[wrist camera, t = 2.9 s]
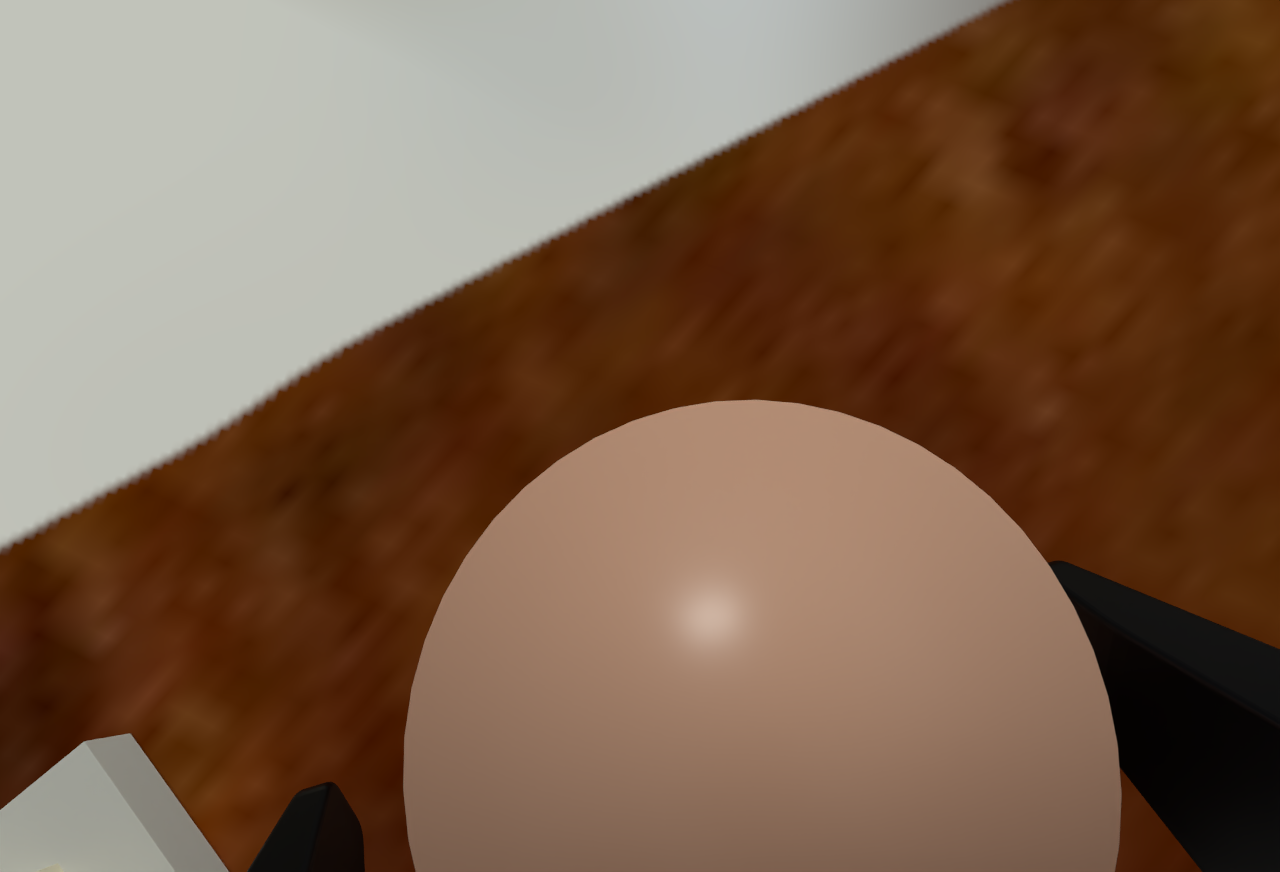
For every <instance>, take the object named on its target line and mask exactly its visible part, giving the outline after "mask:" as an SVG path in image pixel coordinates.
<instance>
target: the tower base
mask: <svg viewBox="0 0 1280 872" xmlns="http://www.w3.org/2000/svg"><path fill="white" fill-rule="evenodd" d="M0 872H229V871H228V870H227V868H226V867H225V865H224V864H223V863H222V861H221V860H220V858H219V857H218V856H217V854H216V853H215V851H214V850H213V849H212V847H211V846H210V844H209V843H208V842H207V840H206V839H205V837H204V836H203V835H202V833H201V832H200V830H199V829H198V828H197V826H196V825H195V823H194V822H193V821H192V819H191V818H190V816H189V815H188V814H187V812H186V811H185V809H184V808H183V807H182V805H181V804H180V802H179V801H178V800H177V798H176V797H175V795H174V794H173V793H172V791H171V790H170V788H169V787H168V786H167V784H166V783H165V781H164V780H163V778H162V777H161V776H160V774H159V773H158V771H157V770H156V769H155V767H154V766H153V764H152V763H151V762H150V760H149V759H148V757H147V756H146V755H145V753H144V752H143V750H142V749H141V748H140V746H139V745H138V743H137V742H136V741H135V739H134V738H133V736H132V735H131V734H124V735H118V736H113V737H107V738H101V739H95V740H90V741H84V742H83V743H82V744H81V745H79V746H78V747H77V748H76V749H74V750H73V751H72V752H71V753H70V754H68V755H67V756H66V757H65V758H63V759H62V760H61V761H60V762H59V763H57V764H56V765H55V766H54V767H52V768H51V769H50V770H49V771H48V772H46V773H45V774H44V775H43V776H41V777H40V778H39V779H38V780H37V781H35V782H34V783H33V784H32V785H31V786H29V787H28V788H27V789H26V790H24V791H23V792H22V793H21V794H20V795H18V796H17V797H16V798H15V799H13V800H12V801H11V802H10V803H9V804H7V805H6V806H5V807H4V808H2V809H1V810H0Z"/></svg>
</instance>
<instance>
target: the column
mask: <svg viewBox="0 0 1280 872" xmlns="http://www.w3.org/2000/svg"><path fill="white" fill-rule="evenodd" d="M403 790H404V800H405V810H406V820H407V830H408V840H409V844H410V849H411V853H412V857H413V862H414V866H415V870H416V872H1115V866H1116V861H1117V855H1118V849H1119V836H1120V815H1121V783H1120V769H1119V755H1118V744H1117V739H1116V734H1115V728H1114V723H1113V718H1112V713H1111V708H1110V703H1109V697H1108V694H1107V691H1106V688H1105V685H1104V682H1103V678H1102V675H1101V672H1100V669H1099V666H1098V663H1097V660H1096V656H1095V653H1094V650H1093V648H1092V646H1091V644H1090V641H1089V639H1088V637H1087V635H1086V632H1085V630H1084V628H1083V626H1082V624H1081V621H1080V619H1079V617H1078V615H1077V612H1076V610H1075V608H1074V606H1073V604H1072V603H1071V601H1070V599H1069V598H1068V596H1067V594H1066V593H1065V591H1064V589H1063V588H1062V586H1061V584H1060V583H1059V581H1058V579H1057V578H1056V576H1055V574H1054V573H1053V571H1052V569H1051V567H1050V566H1049V565H1048V563H1047V562H1046V561H1045V559H1044V558H1043V557H1042V555H1041V554H1040V553H1039V552H1038V550H1037V549H1036V548H1035V546H1034V545H1033V544H1032V542H1031V541H1030V540H1029V538H1028V537H1027V536H1026V535H1025V533H1024V532H1023V531H1022V529H1021V528H1020V527H1019V526H1018V525H1017V524H1016V523H1015V522H1014V521H1013V520H1012V519H1011V518H1010V517H1009V516H1008V515H1007V514H1006V513H1005V512H1004V511H1003V510H1002V509H1001V508H1000V507H999V506H998V504H997V503H996V502H995V501H994V500H993V499H992V498H991V497H990V496H988V495H987V494H986V493H985V492H984V491H982V490H981V489H980V488H979V487H978V486H976V485H975V484H974V483H973V482H971V481H970V480H969V479H968V478H967V477H965V476H964V475H963V474H962V473H960V472H959V471H958V470H957V469H956V468H954V467H952V466H951V465H949V464H948V463H946V462H945V461H943V460H942V459H940V458H938V457H937V456H935V455H934V454H932V453H931V452H929V451H927V450H926V449H924V448H923V447H921V446H920V445H918V444H916V443H914V442H912V441H910V440H908V439H906V438H903V437H901V436H899V435H897V434H895V433H893V432H891V431H889V430H887V429H885V428H883V427H881V426H878V425H875V424H872V423H869V422H867V421H864V420H861V419H858V418H855V417H852V416H849V415H846V414H843V413H840V412H836V411H831V410H827V409H822V408H817V407H813V406H808V405H803V404H798V403H787V402H775V401H763V400H743V401H718V402H710V403H704V404H698V405H692V406H686V407H680V408H674V409H671V410H667V411H664V412H661V413H657V414H654V415H651V416H647V417H644V418H641V419H638V420H634V421H632V422H630V423H627V424H625V425H623V426H621V427H618V428H616V429H614V430H612V431H609V432H607V433H605V434H603V435H601V436H598V437H596V438H594V439H592V440H591V441H589V442H588V443H586V444H584V445H583V446H581V447H579V448H578V449H576V450H575V451H573V452H571V453H570V454H568V455H566V456H565V457H563V458H561V459H560V460H558V461H557V462H556V463H554V464H553V465H552V466H551V467H549V468H548V469H547V470H546V471H544V472H543V473H542V474H541V475H540V476H538V477H537V478H536V479H535V480H533V481H532V482H531V483H530V484H528V485H527V486H526V487H525V488H524V489H523V490H522V491H521V492H520V493H519V494H518V495H517V496H516V497H515V498H514V499H513V500H512V501H511V502H510V503H509V504H508V505H507V506H506V507H505V508H504V509H503V510H502V511H501V512H500V513H499V514H498V515H497V517H496V518H495V519H494V520H493V521H492V522H491V524H490V525H489V526H488V528H487V529H486V530H485V532H484V533H483V534H482V536H481V537H480V538H479V540H478V541H477V542H476V544H475V545H474V546H473V548H472V549H471V550H470V552H469V553H468V554H467V556H466V557H465V559H464V561H463V563H462V564H461V566H460V568H459V570H458V571H457V573H456V575H455V577H454V578H453V580H452V582H451V584H450V585H449V587H448V589H447V591H446V592H445V594H444V596H443V598H442V601H441V603H440V605H439V608H438V610H437V613H436V615H435V617H434V620H433V622H432V625H431V627H430V629H429V632H428V634H427V637H426V639H425V642H424V646H423V649H422V653H421V656H420V660H419V664H418V667H417V671H416V675H415V678H414V682H413V685H412V690H411V697H410V704H409V710H408V717H407V724H406V731H405V739H404V782H403Z"/></svg>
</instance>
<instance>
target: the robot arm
mask: <svg viewBox="0 0 1280 872" xmlns="http://www.w3.org/2000/svg"><path fill="white" fill-rule="evenodd" d="M1048 565H1049V566H1050V567H1051V569H1052V571H1053V573H1054V574H1055V576H1056V578H1057V579H1058V581H1059V583H1060V584H1061V586H1062V588H1063V589H1064V591H1065V593H1066V594H1067V596H1068V598H1069V599H1070V601H1071V603H1072V604H1073V606H1074V608H1075V610H1076V612H1077V615H1078V617H1079V619H1080V621H1081V624H1082V626H1083V628H1084V630H1085V632H1086V635H1087V637H1088V639H1089V641H1090V644H1091V646H1092V648H1093V650H1094V653H1095V656H1096V660H1097V663H1098V666H1099V669H1100V672H1101V675H1102V678H1103V682H1104V685H1105V688H1106V691H1107V694H1108V697H1109V703H1110V708H1111V713H1112V718H1113V723H1114V728H1115V734H1116V739H1117V744H1118V755H1119V767H1120V768H1121V769H1122V770H1123V772H1124V773H1125V774H1126V775H1127V777H1128V778H1129V779H1130V781H1131V782H1132V783H1133V784H1134V786H1135V787H1136V788H1137V789H1138V791H1139V792H1140V793H1141V794H1142V796H1143V797H1144V798H1145V800H1146V801H1147V802H1148V803H1149V805H1150V806H1151V807H1152V808H1153V810H1154V811H1155V812H1156V814H1157V815H1158V816H1159V817H1160V819H1161V820H1162V821H1163V822H1164V824H1165V825H1166V826H1167V827H1168V829H1169V830H1170V831H1171V833H1172V834H1173V835H1174V836H1175V838H1176V839H1177V840H1178V841H1179V843H1180V844H1181V845H1182V846H1183V848H1184V849H1185V850H1186V852H1187V853H1188V854H1189V855H1190V857H1191V858H1192V859H1193V860H1194V862H1195V863H1196V864H1197V866H1198V867H1199V868H1200V869H1201V871H1202V872H1280V649H1278V648H1275V647H1273V646H1270V645H1268V644H1265V643H1263V642H1261V641H1258V640H1256V639H1253V638H1251V637H1248V636H1246V635H1243V634H1241V633H1239V632H1236V631H1234V630H1231V629H1229V628H1226V627H1224V626H1221V625H1219V624H1217V623H1214V622H1212V621H1209V620H1207V619H1204V618H1202V617H1200V616H1197V615H1195V614H1192V613H1190V612H1187V611H1185V610H1182V609H1180V608H1178V607H1175V606H1173V605H1170V604H1168V603H1165V602H1163V601H1160V600H1158V599H1156V598H1153V597H1151V596H1148V595H1146V594H1143V593H1141V592H1138V591H1136V590H1134V589H1131V588H1129V587H1126V586H1124V585H1121V584H1119V583H1117V582H1114V581H1112V580H1109V579H1107V578H1104V577H1102V576H1099V575H1097V574H1095V573H1092V572H1090V571H1087V570H1085V569H1082V568H1080V567H1077V566H1075V565H1073V564H1070V563H1068V562H1064V561H1052V562H1049V563H1048ZM247 872H365V867H364V844H363V834H362V829H361V825H360V823H359V820H358V818H357V817H356V815H355V813H354V812H353V810H352V808H351V807H350V805H349V804H348V802H347V800H346V799H345V797H344V795H343V794H342V792H341V790H340V789H339V787H338V786H337V785H336V784H335V783H333V782H326V783H322V784H319V785H316V786H313V787H309V788H306V789H303V790H301V791H299V792H298V793H297V794H296V795H295V796H294V797H293V799H292V800H291V802H290V803H289V805H288V807H287V808H286V810H285V811H284V813H283V815H282V816H281V818H280V819H279V821H278V823H277V824H276V826H275V828H274V829H273V831H272V832H271V834H270V836H269V837H268V839H267V840H266V842H265V844H264V845H263V847H262V848H261V850H260V852H259V853H258V855H257V857H256V858H255V860H254V861H253V863H252V865H251V866H250V868H249V869H248V871H247Z"/></svg>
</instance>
